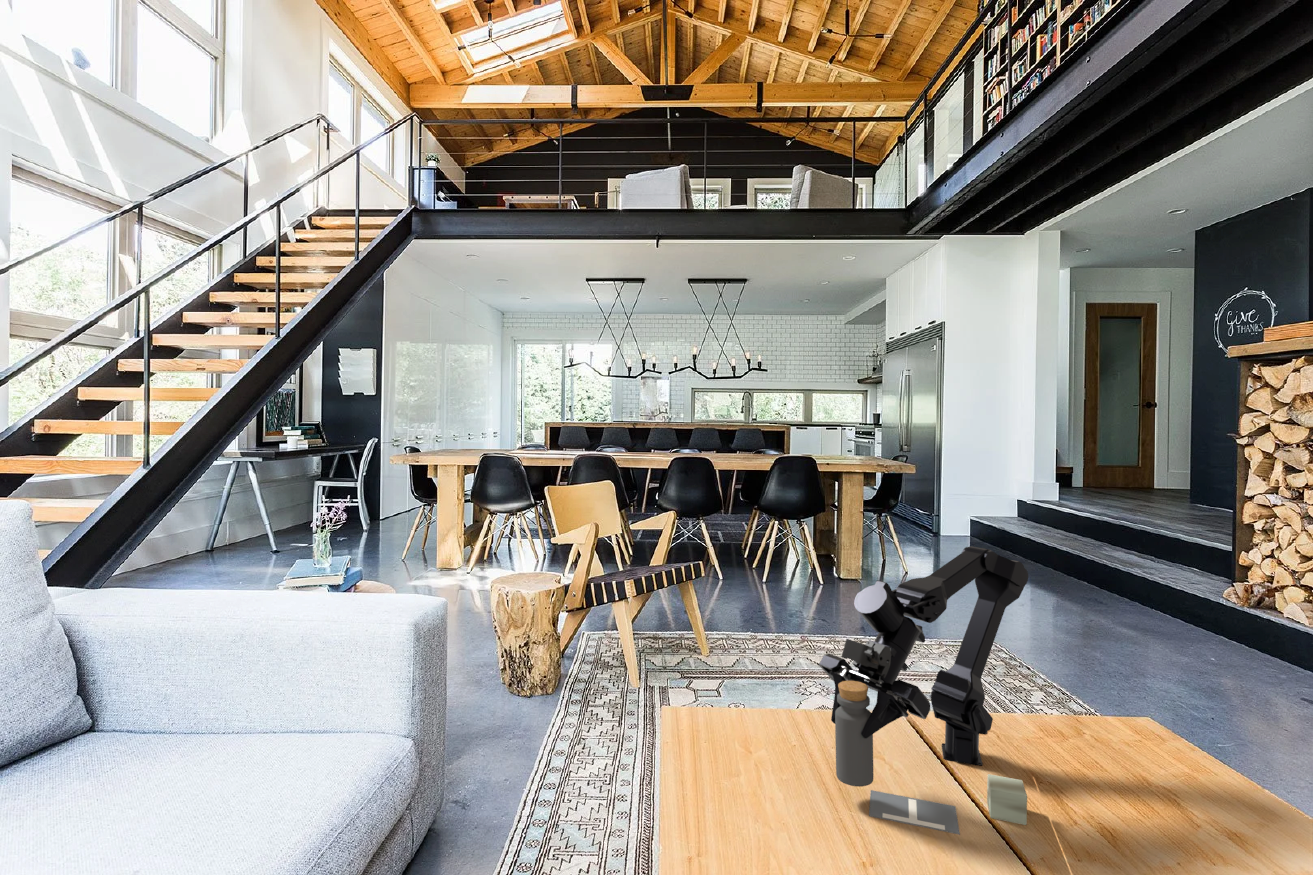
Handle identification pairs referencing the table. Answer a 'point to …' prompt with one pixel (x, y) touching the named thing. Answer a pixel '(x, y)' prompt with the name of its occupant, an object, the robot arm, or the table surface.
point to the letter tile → (914, 811)
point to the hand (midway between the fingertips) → (848, 729)
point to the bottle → (853, 735)
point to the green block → (1007, 799)
